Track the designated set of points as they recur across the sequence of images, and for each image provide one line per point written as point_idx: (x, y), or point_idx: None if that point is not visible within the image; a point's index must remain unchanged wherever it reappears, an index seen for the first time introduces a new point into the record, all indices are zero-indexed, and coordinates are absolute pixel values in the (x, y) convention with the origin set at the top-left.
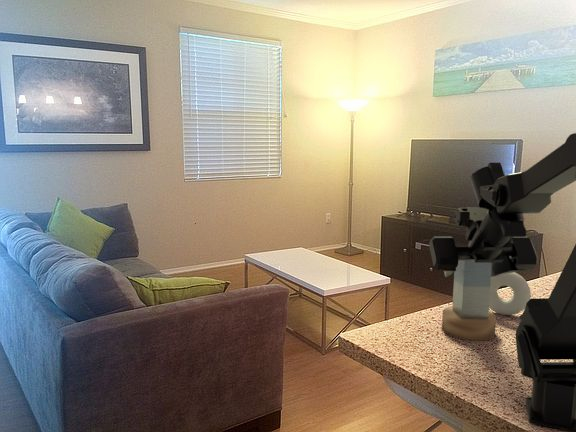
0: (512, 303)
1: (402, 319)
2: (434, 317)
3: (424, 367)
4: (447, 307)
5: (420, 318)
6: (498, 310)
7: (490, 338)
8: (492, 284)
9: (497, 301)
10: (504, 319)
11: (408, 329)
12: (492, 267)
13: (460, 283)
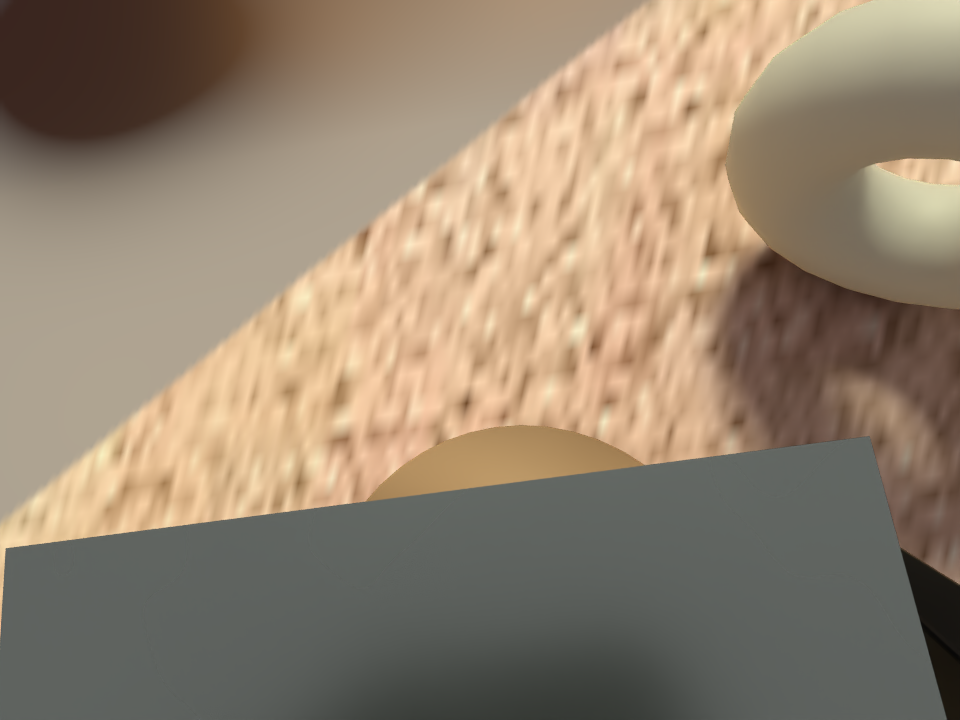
0: (954, 276)
1: (134, 455)
2: (353, 386)
3: None
4: (382, 489)
5: (256, 419)
6: (818, 275)
7: None
8: (847, 155)
9: (836, 236)
10: (835, 355)
11: None
12: (925, 639)
13: None
